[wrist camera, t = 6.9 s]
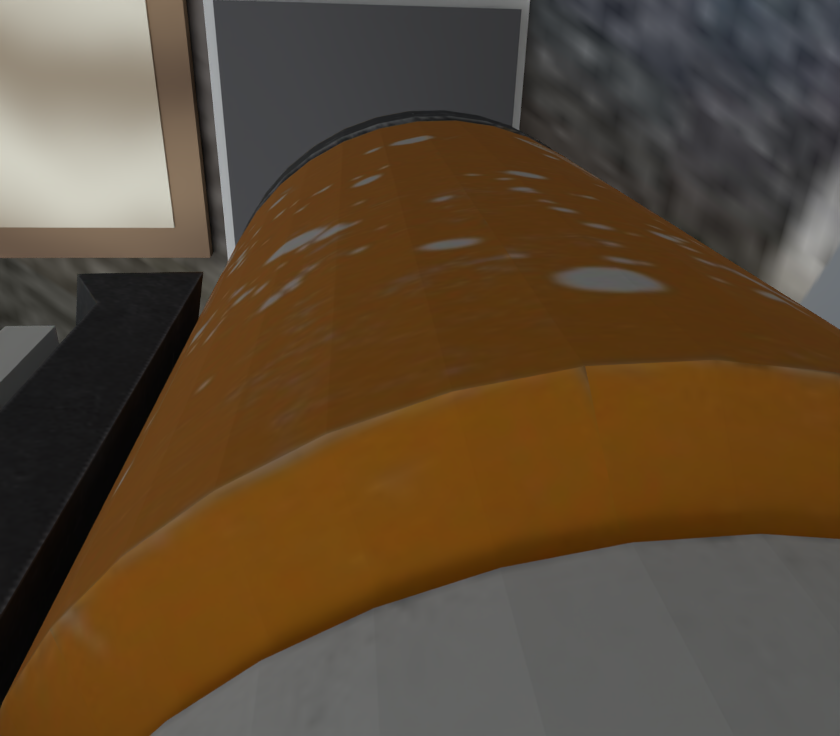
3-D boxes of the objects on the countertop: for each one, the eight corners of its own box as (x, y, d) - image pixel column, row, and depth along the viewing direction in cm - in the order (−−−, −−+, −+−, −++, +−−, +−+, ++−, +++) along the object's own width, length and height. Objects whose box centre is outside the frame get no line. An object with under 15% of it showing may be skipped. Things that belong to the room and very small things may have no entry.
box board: (-276, -226, 21) (-295, -233, 21) (165, -201, 23) (159, -207, 22) (-123, 253, 28) (-133, 258, 27) (212, 253, 29) (209, 258, 29)
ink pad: (204, -16, 25) (195, -18, 24) (526, -5, 26) (537, -7, 25) (238, 337, 31) (232, 352, 29) (498, 334, 32) (505, 348, 31)
